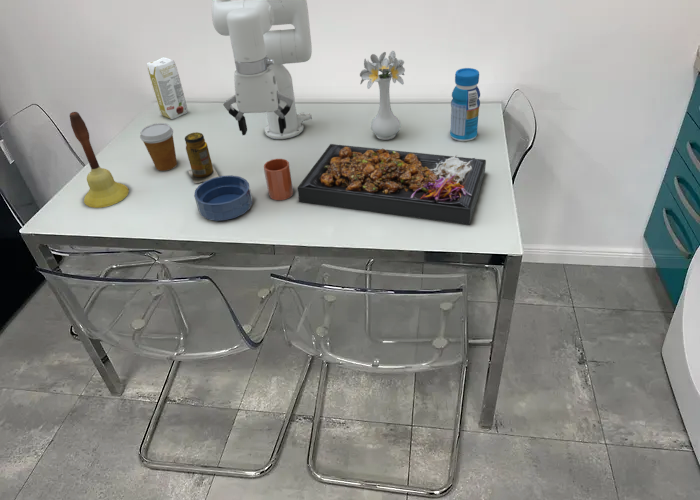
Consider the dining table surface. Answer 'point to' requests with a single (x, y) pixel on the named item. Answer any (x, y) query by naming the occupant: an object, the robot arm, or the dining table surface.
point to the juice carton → (167, 87)
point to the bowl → (223, 197)
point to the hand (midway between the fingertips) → (263, 132)
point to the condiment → (199, 158)
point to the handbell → (97, 172)
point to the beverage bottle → (465, 105)
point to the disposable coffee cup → (160, 145)
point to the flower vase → (384, 92)
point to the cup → (278, 179)
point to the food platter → (395, 183)
